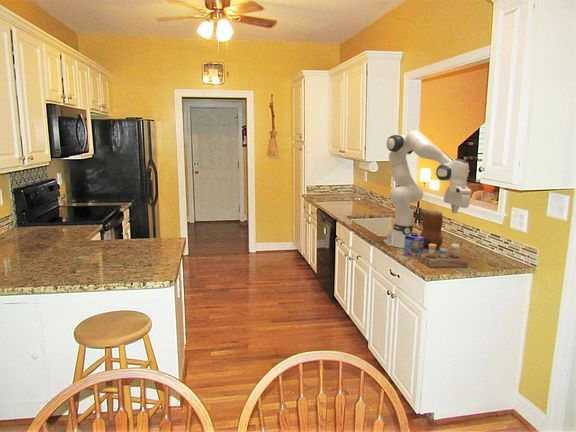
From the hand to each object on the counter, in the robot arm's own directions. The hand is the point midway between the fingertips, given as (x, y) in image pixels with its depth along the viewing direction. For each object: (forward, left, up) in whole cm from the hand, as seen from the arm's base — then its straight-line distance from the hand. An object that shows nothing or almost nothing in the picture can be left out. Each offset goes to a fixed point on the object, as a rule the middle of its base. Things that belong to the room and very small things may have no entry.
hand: (454, 213), depth 243 cm
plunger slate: (+5, -7, -26) cm, 28 cm away
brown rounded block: (-31, +6, -28) cm, 42 cm away
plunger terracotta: (+5, -14, -24) cm, 28 cm away
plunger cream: (+5, 0, -24) cm, 24 cm away
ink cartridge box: (-12, -16, -28) cm, 35 cm away
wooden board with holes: (+5, -7, -28) cm, 29 cm away
